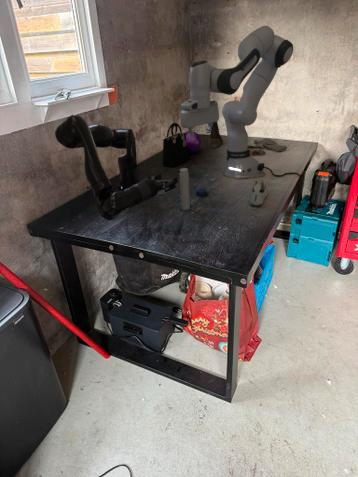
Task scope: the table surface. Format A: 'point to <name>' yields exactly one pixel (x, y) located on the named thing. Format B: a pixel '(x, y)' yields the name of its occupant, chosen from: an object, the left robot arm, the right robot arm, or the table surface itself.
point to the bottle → (184, 189)
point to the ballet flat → (258, 193)
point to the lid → (201, 192)
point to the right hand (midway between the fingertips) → (200, 134)
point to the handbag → (175, 147)
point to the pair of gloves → (267, 144)
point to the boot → (215, 135)
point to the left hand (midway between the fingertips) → (168, 177)
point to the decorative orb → (192, 142)
